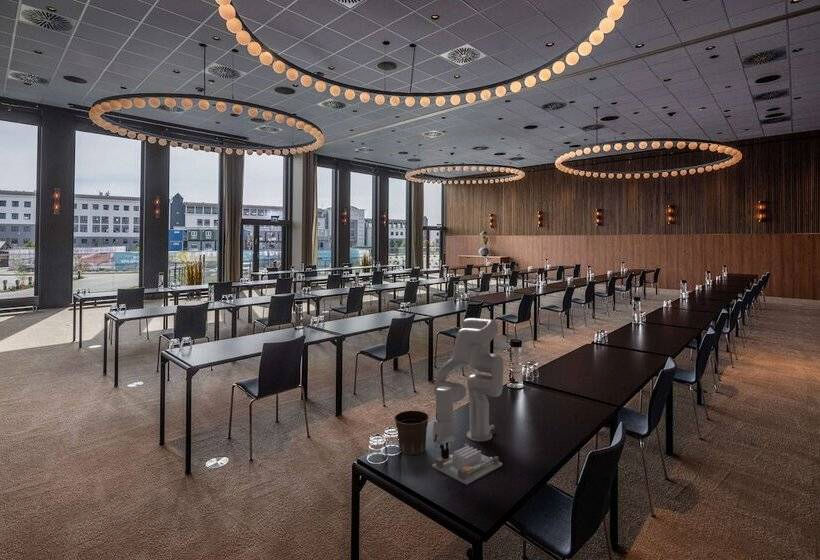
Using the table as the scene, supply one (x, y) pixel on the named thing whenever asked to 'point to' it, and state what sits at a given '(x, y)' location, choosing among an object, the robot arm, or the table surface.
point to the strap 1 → (447, 458)
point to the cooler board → (469, 476)
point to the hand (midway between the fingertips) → (445, 457)
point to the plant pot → (412, 431)
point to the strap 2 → (477, 465)
